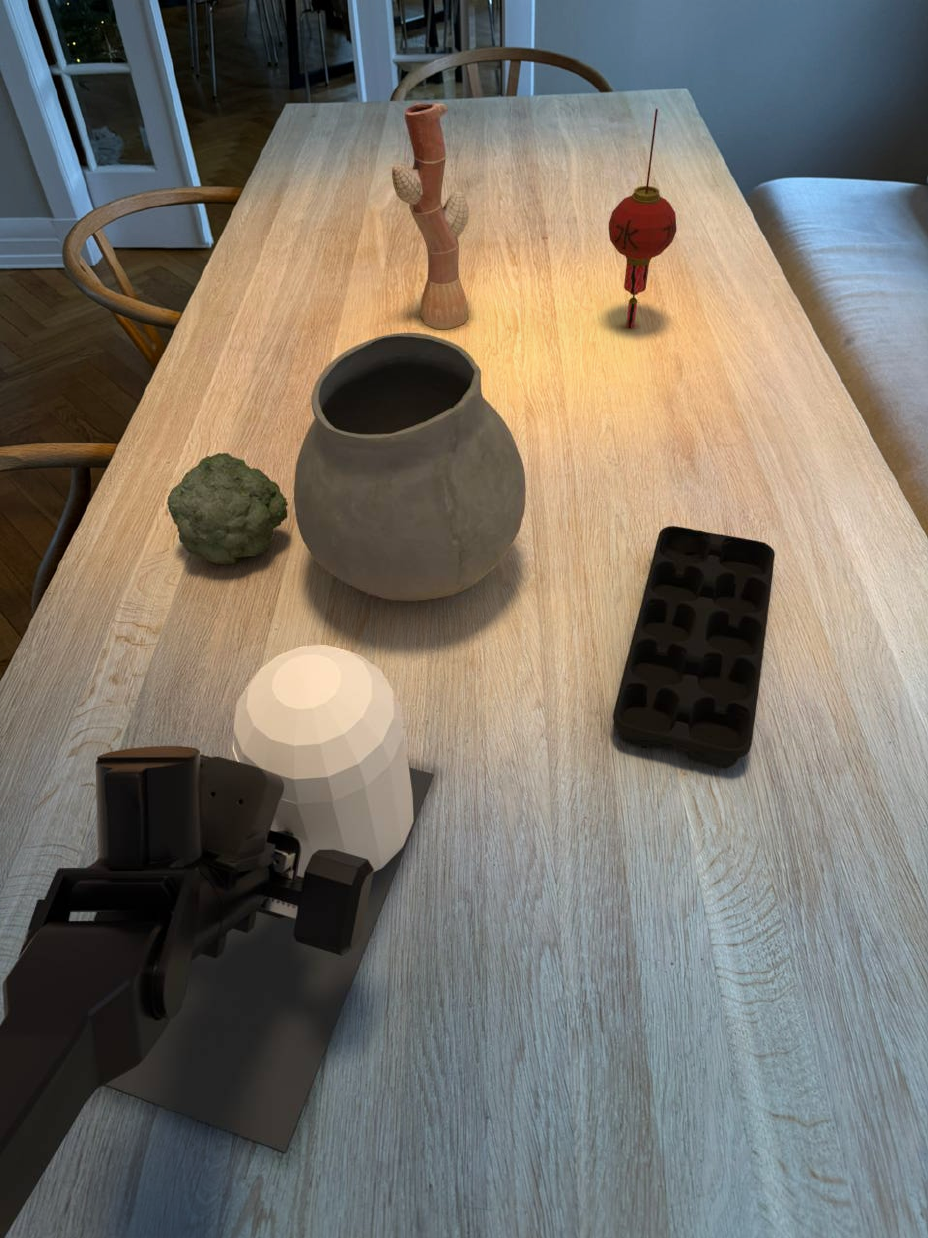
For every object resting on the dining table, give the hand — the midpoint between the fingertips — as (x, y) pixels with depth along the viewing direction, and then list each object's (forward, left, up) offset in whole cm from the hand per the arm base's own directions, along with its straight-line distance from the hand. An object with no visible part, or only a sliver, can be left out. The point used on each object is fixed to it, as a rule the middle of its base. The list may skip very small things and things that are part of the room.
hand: (288, 838), depth 69 cm
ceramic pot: (+39, +4, -8) cm, 40 cm away
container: (+7, -1, -8) cm, 10 cm away
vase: (+91, +19, -8) cm, 93 cm away
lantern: (+96, -10, -8) cm, 97 cm away
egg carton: (+35, -28, -8) cm, 46 cm away
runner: (-3, +1, -8) cm, 8 cm away
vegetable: (+37, +26, -8) cm, 46 cm away
